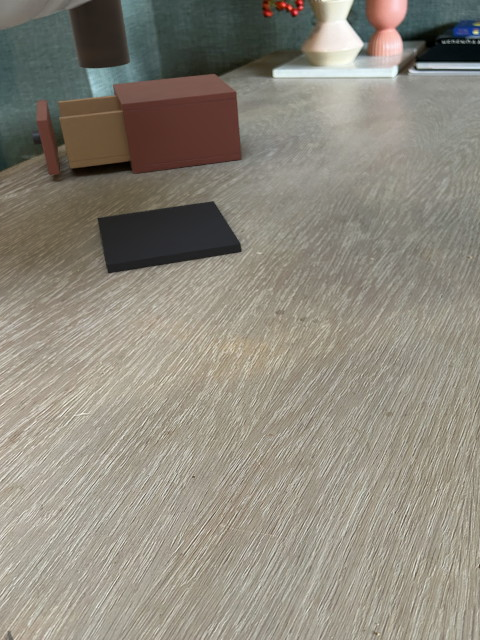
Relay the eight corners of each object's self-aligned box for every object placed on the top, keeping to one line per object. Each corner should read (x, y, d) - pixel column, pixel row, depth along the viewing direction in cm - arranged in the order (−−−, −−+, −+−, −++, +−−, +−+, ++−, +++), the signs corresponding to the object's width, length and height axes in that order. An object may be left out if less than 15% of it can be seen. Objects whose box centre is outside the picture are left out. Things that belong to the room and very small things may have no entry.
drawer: (39, 177, 79) (25, 121, 76) (39, 151, 88) (27, 101, 85) (154, 162, 82) (146, 108, 79) (143, 139, 91) (135, 90, 88)
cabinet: (133, 173, 82) (121, 103, 77) (123, 147, 92) (112, 84, 87) (241, 159, 85) (236, 91, 80) (220, 135, 95) (214, 73, 90)
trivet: (108, 273, 58) (106, 264, 58) (98, 225, 68) (97, 217, 68) (241, 251, 61) (240, 243, 60) (214, 208, 71) (213, 200, 70)
